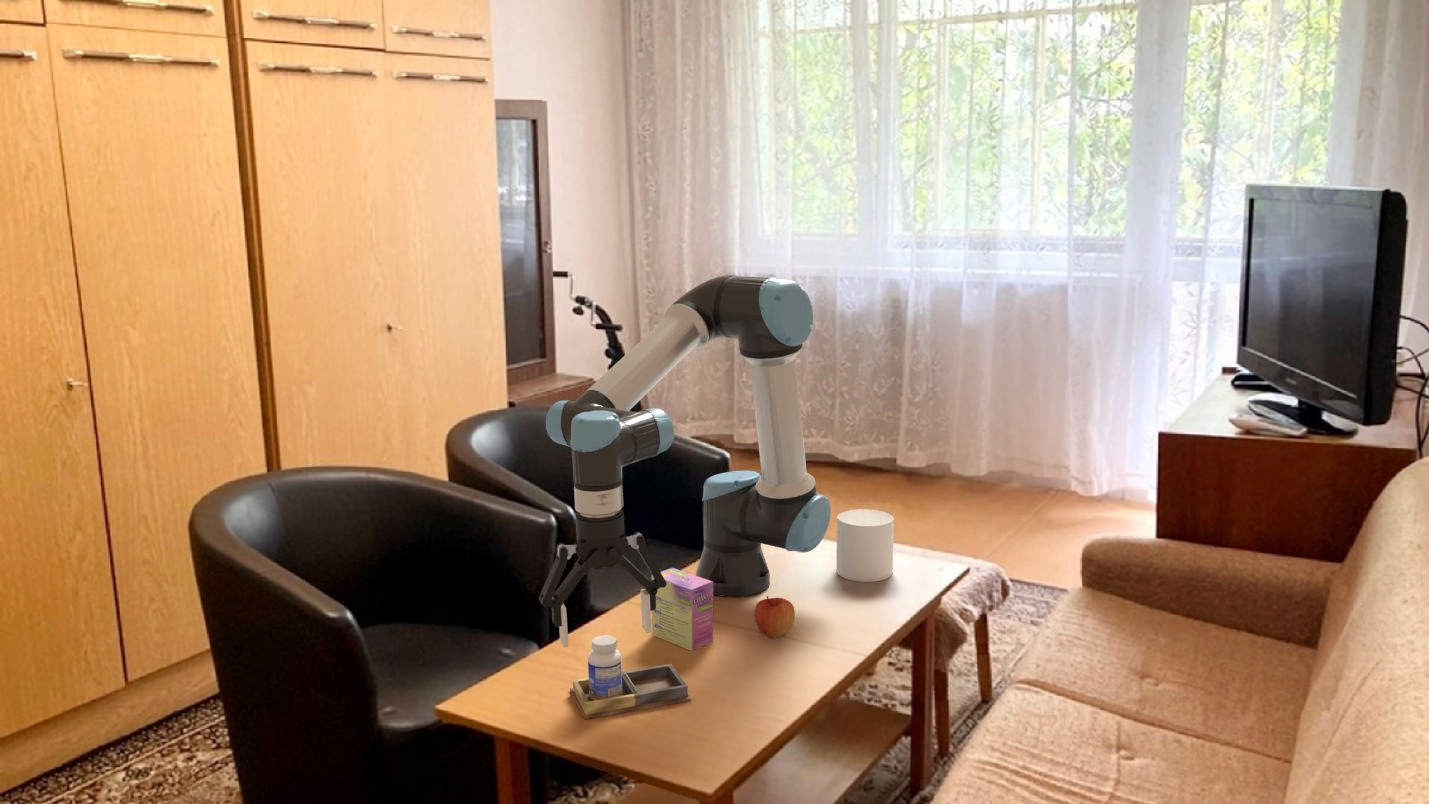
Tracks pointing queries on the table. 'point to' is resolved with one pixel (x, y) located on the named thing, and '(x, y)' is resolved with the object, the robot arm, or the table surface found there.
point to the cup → (865, 545)
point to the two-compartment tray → (634, 692)
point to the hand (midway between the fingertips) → (606, 636)
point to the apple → (774, 617)
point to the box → (684, 610)
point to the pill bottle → (604, 668)
